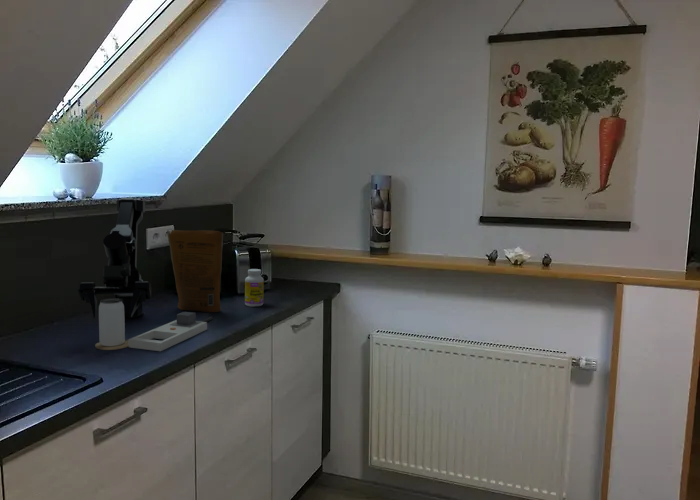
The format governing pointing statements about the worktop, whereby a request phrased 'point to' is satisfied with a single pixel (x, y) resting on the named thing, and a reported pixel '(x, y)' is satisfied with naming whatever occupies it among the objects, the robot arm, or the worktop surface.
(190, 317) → the block
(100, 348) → the cork coaster
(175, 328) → the strip dock
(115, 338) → the can
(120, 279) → the robot arm
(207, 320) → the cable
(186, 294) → the pancake mix bag
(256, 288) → the supplement bottle
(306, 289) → the worktop surface
